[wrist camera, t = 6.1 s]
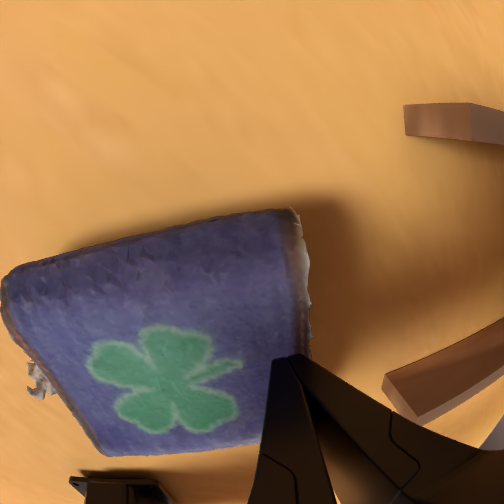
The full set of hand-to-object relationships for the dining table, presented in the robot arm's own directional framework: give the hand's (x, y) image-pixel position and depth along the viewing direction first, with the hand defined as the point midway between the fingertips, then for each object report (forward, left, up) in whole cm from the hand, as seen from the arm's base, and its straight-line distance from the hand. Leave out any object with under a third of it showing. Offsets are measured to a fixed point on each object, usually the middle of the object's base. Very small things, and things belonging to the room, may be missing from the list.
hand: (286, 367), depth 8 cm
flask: (0, 0, -5) cm, 5 cm away
